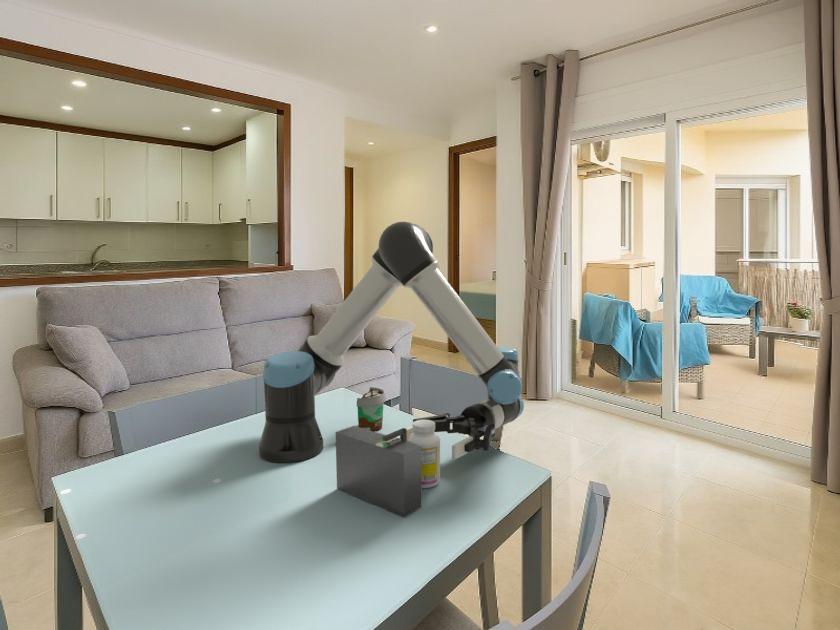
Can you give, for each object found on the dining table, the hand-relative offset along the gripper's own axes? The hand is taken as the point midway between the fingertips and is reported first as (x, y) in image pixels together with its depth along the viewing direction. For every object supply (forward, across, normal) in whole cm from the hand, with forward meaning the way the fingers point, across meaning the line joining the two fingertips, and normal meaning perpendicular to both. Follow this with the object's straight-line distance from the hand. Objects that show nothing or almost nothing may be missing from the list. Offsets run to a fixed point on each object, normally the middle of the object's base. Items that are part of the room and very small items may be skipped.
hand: (426, 444), depth 104 cm
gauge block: (+12, +3, -8) cm, 15 cm away
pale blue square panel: (+9, +3, -7) cm, 12 cm away
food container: (-17, +32, -8) cm, 37 cm away
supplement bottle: (0, 0, -8) cm, 8 cm away
